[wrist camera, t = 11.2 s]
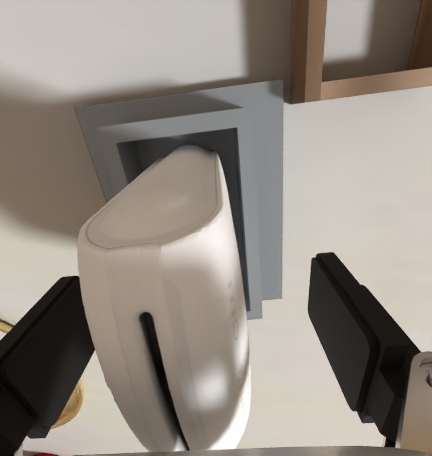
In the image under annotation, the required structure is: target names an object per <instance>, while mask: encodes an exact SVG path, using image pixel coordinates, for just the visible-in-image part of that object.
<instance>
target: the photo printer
mask: <svg viewBox="0 0 432 456" xmlns="http://www.w3.org/2000/svg"><path fill="white" fill-rule="evenodd" d="M77 244H78V269H79V278H80V287H81V294H82V300H83V305H84V309H85V315H86V318H87V322H88V326H89V330H90V333H91V337H92V341H93V344H94V347H95V350H96V353H97V356H98V359H99V362H100V365H101V368H102V371H103V373H104V377H105V381H106V383H107V386H108V387H109V389H110V390H111V392H112V395H113V397H114V401H115V402H116V404H117V406H118V408H119V409H120V411H121V413H122V415H123V417H124V419H125V420H126V422H127V424H128V425H129V427H130V429H131V430H132V431H133V433H134V434H135V436H136V437H137V439H138V440H139V441H140V442H141V444H142V445H143V446H144V447H145V448H146V449H147V450H148V452H169V451H194V450H222V449H235V448H236V446H237V444H238V442H239V441H240V439H241V437H242V435H243V432H244V430H245V427H246V423H247V420H248V415H249V409H250V401H251V368H250V351H249V339H248V327H247V317H246V307H245V298H244V290H243V282H242V274H241V267H240V260H239V253H238V248H237V242H236V236H235V231H234V226H233V220H232V214H231V208H230V203H229V197H228V191H227V186H226V181H225V176H224V172H223V168H222V164H221V161H220V158H219V155H218V153H217V152H216V151H213V152H210V151H209V150H208V149H206V148H204V147H201V146H198V145H183V146H180V147H178V148H176V149H174V150H173V151H172V152H171V153H170V154H168V155H167V156H166V157H161V158H159V159H158V160H156V161H155V162H154V163H153V164H152V165H151V166H149V167H148V168H147V169H146V170H145V171H144V172H142V173H141V174H140V175H139V176H138V177H137V178H136V179H135V180H133V181H132V182H131V183H130V184H129V185H128V186H127V187H125V188H124V189H123V190H122V191H121V192H120V193H118V194H117V195H116V196H115V197H113V198H112V199H111V200H110V201H109V202H108V203H107V204H106V205H104V206H103V207H102V208H101V209H100V210H98V211H97V212H96V213H95V214H94V215H93V216H92V217H90V218H89V219H88V220H87V221H86V222H85V223H84V224H83V226H82V227H81V229H80V232H79V235H78V240H77Z"/></svg>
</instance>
